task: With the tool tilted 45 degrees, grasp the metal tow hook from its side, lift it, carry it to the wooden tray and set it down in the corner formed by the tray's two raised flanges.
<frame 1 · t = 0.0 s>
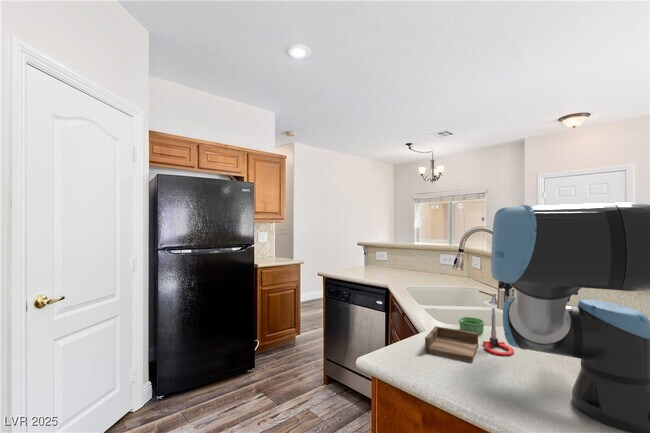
hand: (535, 304, 100), 15 cm above the countertop, tool tilted 35°, fingers open, 13 cm apart
wooden tray: (452, 349, 103), on the countertop
ramekin: (471, 332, 120), on the countertop
tow hook: (498, 351, 102), on the countertop
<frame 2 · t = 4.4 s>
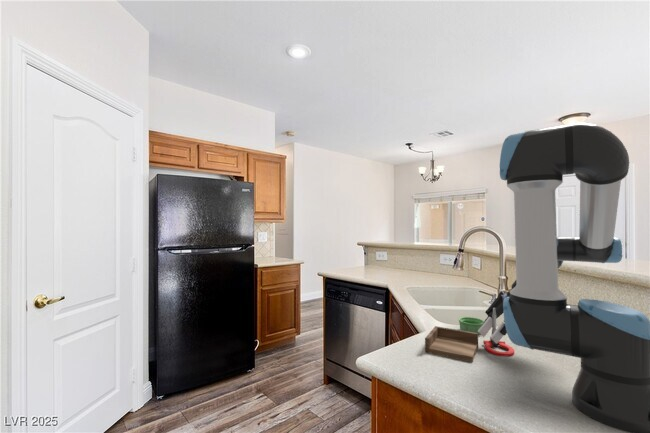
hand: (487, 337, 102), 4 cm above the countertop, tool tilted 45°, fingers open, 5 cm apart
tow hook: (498, 350, 102), on the countertop, touching gripper
everything else where it was.
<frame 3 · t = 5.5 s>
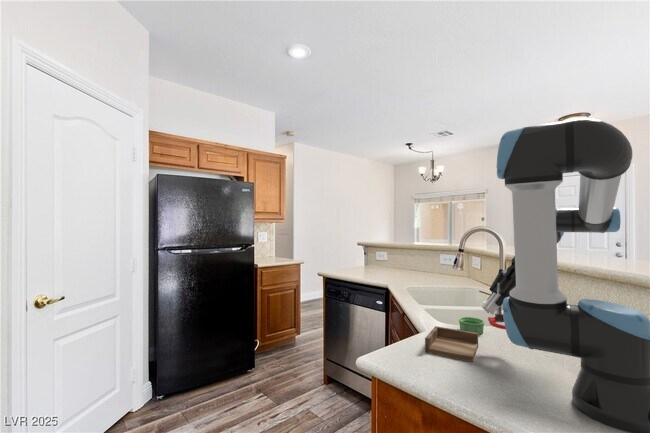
hand: (487, 310, 101), 13 cm above the countertop, tool tilted 45°, fingers closed on tow hook
tow hook: (503, 326, 99), point 9 cm above the countertop, touching gripper
everything else where it was.
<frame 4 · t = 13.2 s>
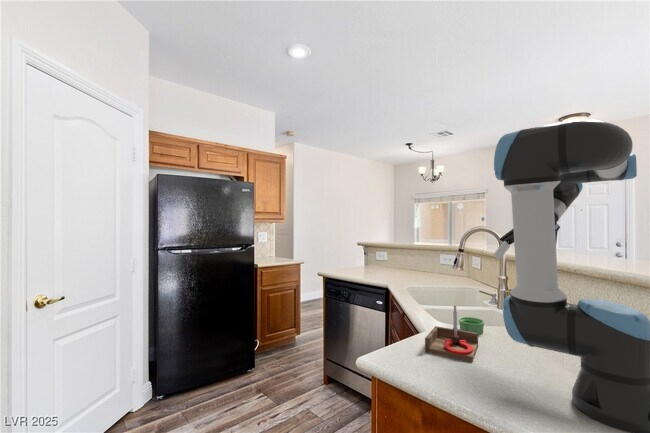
hand: (511, 259, 103), 30 cm above the countertop, tool tilted 45°, fingers open, 13 cm apart
tow hook: (458, 349, 100), point 1 cm above the countertop, touching wooden tray
everything else where it was.
at the end: tow hook inside the target area on the wooden tray (3.5 cm from its centre), point 1.3 cm above the wooden tray's base; tow hook touching wooden tray; the gripper is holding nothing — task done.
